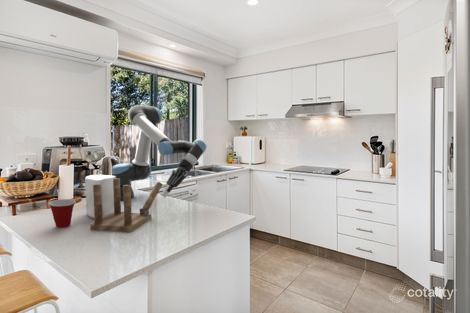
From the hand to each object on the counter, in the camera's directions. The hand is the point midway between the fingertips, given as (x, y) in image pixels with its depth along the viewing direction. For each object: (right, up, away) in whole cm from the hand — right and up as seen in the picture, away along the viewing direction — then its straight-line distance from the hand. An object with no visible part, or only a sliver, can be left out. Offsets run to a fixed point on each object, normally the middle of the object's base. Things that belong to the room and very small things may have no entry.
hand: (163, 196), depth 144 cm
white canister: (-36, -11, +2) cm, 38 cm away
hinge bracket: (-8, -9, -7) cm, 13 cm away
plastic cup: (-43, -12, -16) cm, 48 cm away
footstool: (-16, -12, -13) cm, 24 cm away
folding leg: (-8, -7, -7) cm, 12 cm away
